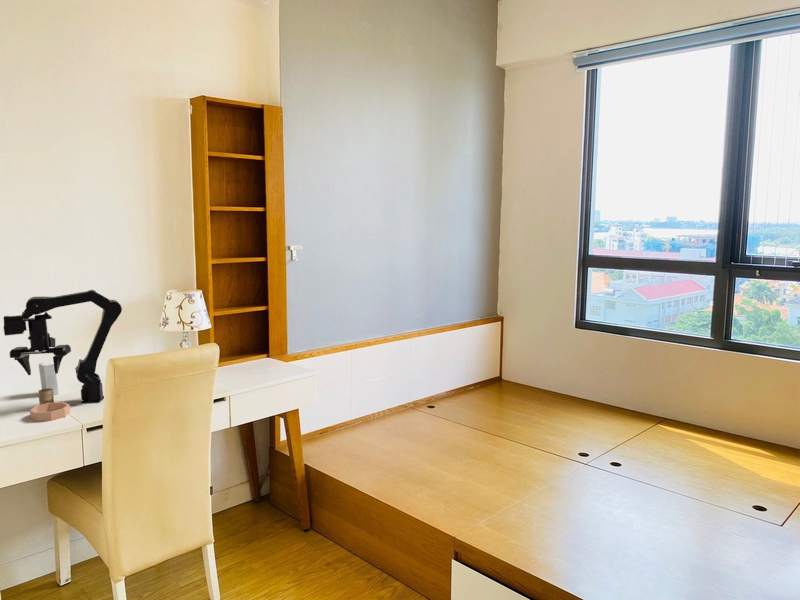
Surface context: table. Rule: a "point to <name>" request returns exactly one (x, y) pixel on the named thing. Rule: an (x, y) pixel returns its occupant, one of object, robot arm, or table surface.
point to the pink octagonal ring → (44, 410)
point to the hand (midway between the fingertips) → (43, 374)
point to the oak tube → (46, 396)
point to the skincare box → (48, 376)
